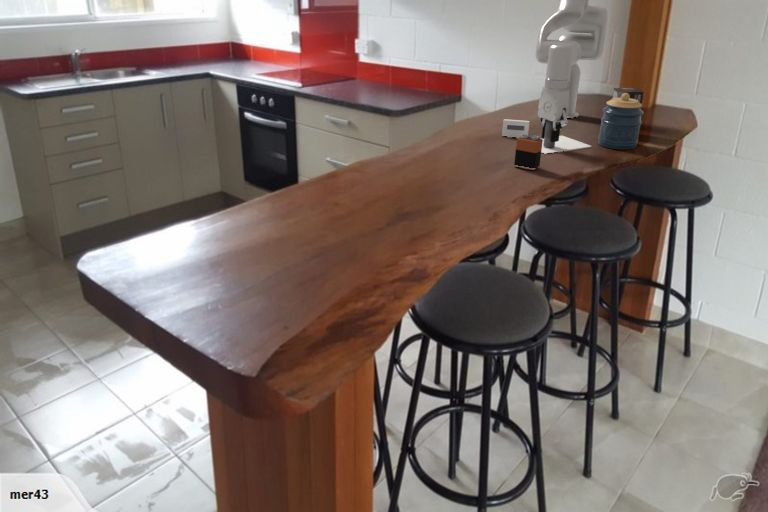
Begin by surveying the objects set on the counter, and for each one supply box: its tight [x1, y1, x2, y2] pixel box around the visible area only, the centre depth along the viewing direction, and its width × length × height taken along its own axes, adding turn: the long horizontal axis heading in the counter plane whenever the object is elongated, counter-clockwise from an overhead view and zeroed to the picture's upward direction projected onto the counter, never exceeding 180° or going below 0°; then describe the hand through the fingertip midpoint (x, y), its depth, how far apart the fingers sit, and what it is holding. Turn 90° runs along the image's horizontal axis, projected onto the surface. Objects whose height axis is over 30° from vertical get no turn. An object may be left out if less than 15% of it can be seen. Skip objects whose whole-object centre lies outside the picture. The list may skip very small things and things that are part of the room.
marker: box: [543, 120, 558, 148], centre depth 204 cm, size 4×4×11 cm
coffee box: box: [611, 87, 644, 110], centre depth 220 cm, size 9×6×16 cm
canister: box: [597, 93, 645, 151], centre depth 207 cm, size 13×13×18 cm
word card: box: [501, 118, 530, 139], centre depth 218 cm, size 1×9×6 cm, turn 74°
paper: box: [540, 135, 593, 155], centre depth 210 cm, size 15×20×1 cm
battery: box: [513, 135, 543, 168], centre depth 186 cm, size 4×7×10 cm, turn 54°
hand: (549, 139), depth 205 cm, fingers closed on marker, 3 cm apart
